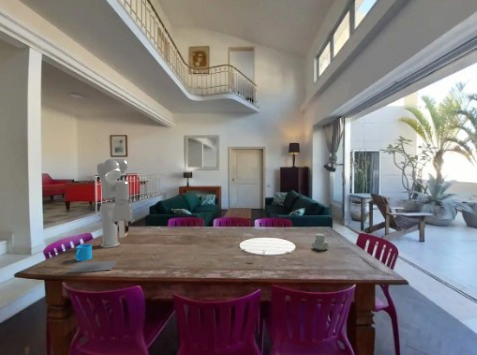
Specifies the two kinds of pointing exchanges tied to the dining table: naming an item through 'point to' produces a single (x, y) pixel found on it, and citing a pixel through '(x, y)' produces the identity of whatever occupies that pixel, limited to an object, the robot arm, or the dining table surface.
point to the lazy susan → (267, 246)
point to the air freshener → (319, 242)
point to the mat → (92, 266)
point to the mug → (83, 252)
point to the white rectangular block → (122, 228)
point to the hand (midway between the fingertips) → (123, 232)
